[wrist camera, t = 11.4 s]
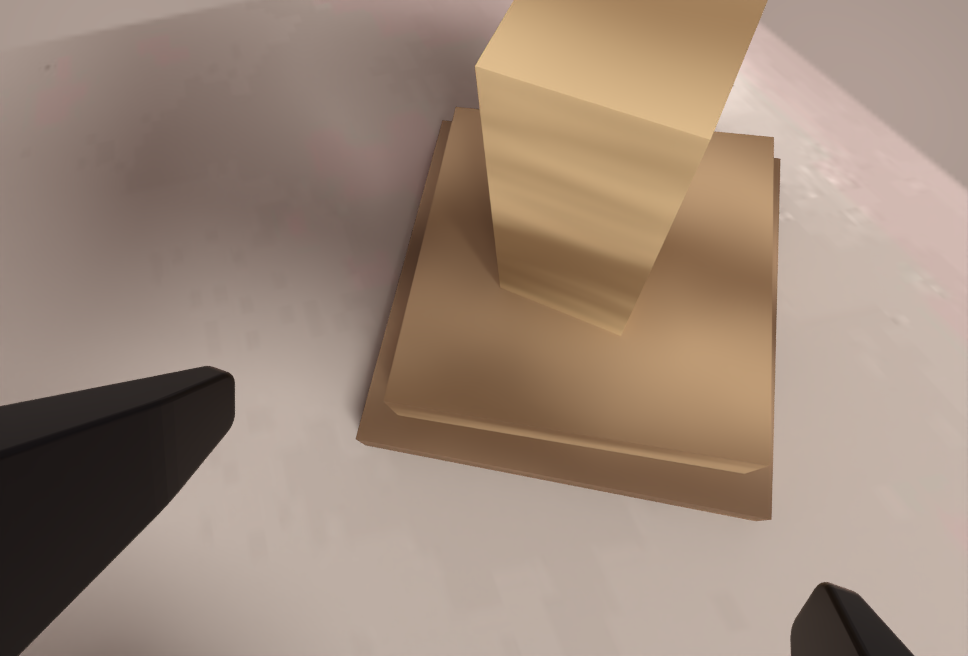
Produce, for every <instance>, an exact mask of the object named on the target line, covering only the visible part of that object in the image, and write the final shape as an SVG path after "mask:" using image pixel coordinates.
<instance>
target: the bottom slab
mask: <svg viewBox="0 0 968 656" xmlns="http://www.w3.org/2000/svg"><path fill="white" fill-rule="evenodd" d="M451 124H452V121H444V120H442V124H441V128H440V131H439V135H438V139H437V142H436V146H435V150H434V153H433V157H432V161H431V164H430V168H429V172H428V175H427V179H426V183H425V186H424V190H423V194H422V197H421V201H420V205H419V208H418V212H417V216H416V219H415V223H414V227H413V230H412V234H411V238H410V241H409V245H408V249H407V252H406V256H405V260H404V263H403V267H402V271H401V274H400V278H399V282H398V285H397V289H396V293H395V297H394V300H393V304H392V308H391V311H390V315H389V319H388V322H387V326H386V330H385V333H384V337H383V341H382V344H381V348H380V352H379V355H378V359H377V363H376V366H375V370H374V374H373V377H372V381H371V385H370V388H369V392H368V396H367V399H366V403H365V407H364V410H363V414H362V418H361V421H360V425H359V429H358V432H357V436H356V440H358V441H360V442H361V443H363V444H365V445H367V446H372V447H377V448H383V449H388V450H393V451H398V452H403V453H408V454H413V455H419V456H424V457H429V458H434V459H439V460H444V461H449V462H455V463H460V464H465V465H470V466H475V467H480V468H485V469H490V470H496V471H501V472H506V473H511V474H516V475H521V476H526V477H532V478H537V479H542V480H547V481H552V482H557V483H562V484H568V485H573V486H578V487H583V488H588V489H593V490H598V491H604V492H609V493H614V494H619V495H624V496H629V497H634V498H639V499H645V500H650V501H655V502H660V503H665V504H670V505H675V506H681V507H686V508H691V509H696V510H701V511H706V512H711V513H717V514H722V515H727V516H732V517H737V518H742V519H747V520H753V521H762V520H771V517H772V476H773V436H774V395H775V354H776V314H777V273H778V232H779V192H780V159H778V158H774V169H773V270H772V372H771V466H768V467H764V468H761V469H758V470H755V471H752V472H749V473H745V474H742V473H737V472H731V471H725V470H719V469H713V468H707V467H701V466H695V465H689V464H683V463H677V462H672V461H666V460H660V459H654V458H648V457H642V456H636V455H630V454H624V453H618V452H612V451H607V450H601V449H595V448H589V447H583V446H577V445H571V444H565V443H559V442H553V441H547V440H542V439H536V438H530V437H524V436H518V435H512V434H506V433H500V432H494V431H488V430H482V429H477V428H471V427H465V426H459V425H453V424H447V423H441V422H435V421H429V420H423V419H418V418H412V417H406V416H400V415H397V414H396V413H395V412H394V411H393V410H392V409H391V408H390V407H389V406H388V405H387V404H386V403H385V402H384V396H385V392H386V388H387V384H388V380H389V376H390V372H391V368H392V364H393V360H394V356H395V352H396V348H397V344H398V340H399V335H400V331H401V327H402V323H403V319H404V315H405V311H406V307H407V303H408V299H409V295H410V291H411V287H412V283H413V279H414V275H415V270H416V266H417V262H418V258H419V254H420V250H421V246H422V242H423V238H424V234H425V230H426V226H427V222H428V218H429V214H430V209H431V205H432V201H433V197H434V193H435V189H436V185H437V181H438V177H439V173H440V169H441V165H442V161H443V157H444V153H445V149H446V144H447V140H448V136H449V132H450V128H451Z"/></svg>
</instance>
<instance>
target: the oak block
mask: <svg viewBox="0 0 968 656" xmlns="http://www.w3.org/2000/svg"><path fill="white" fill-rule="evenodd" d="M766 3H767V0H514V1H513V3H512V4H511V6H510V8H509V9H508V11H507V13H506V14H505V16H504V18H503V20H502V21H501V23H500V25H499V26H498V28H497V30H496V31H495V33H494V35H493V36H492V38H491V40H490V41H489V43H488V45H487V47H486V48H485V50H484V52H483V53H482V55H481V57H480V58H479V60H478V62H477V63H476V65H475V71H476V80H477V89H478V98H479V106H480V115H481V124H482V133H483V141H484V150H485V159H486V168H487V176H488V185H489V194H490V203H491V211H492V220H493V229H494V238H495V246H496V255H497V264H498V273H499V281H500V288H502V289H505V290H507V291H510V292H512V293H515V294H517V295H520V296H522V297H525V298H527V299H530V300H532V301H535V302H537V303H540V304H542V305H545V306H547V307H550V308H552V309H555V310H557V311H560V312H562V313H565V314H567V315H570V316H572V317H575V318H577V319H580V320H582V321H585V322H587V323H590V324H592V325H595V326H597V327H600V328H602V329H605V330H607V331H610V332H612V333H615V334H617V335H620V336H621V335H622V333H623V330H624V328H625V326H626V324H627V322H628V319H629V317H630V315H631V313H632V311H633V309H634V306H635V304H636V302H637V300H638V298H639V295H640V293H641V291H642V289H643V287H644V284H645V282H646V280H647V278H648V276H649V273H650V271H651V269H652V267H653V265H654V263H655V260H656V258H657V256H658V254H659V252H660V249H661V247H662V245H663V243H664V241H665V238H666V236H667V234H668V232H669V230H670V227H671V225H672V223H673V221H674V219H675V216H676V214H677V212H678V210H679V208H680V206H681V203H682V201H683V199H684V197H685V195H686V192H687V190H688V188H689V186H690V184H691V181H692V179H693V177H694V175H695V173H696V170H697V168H698V166H699V164H700V162H701V159H702V157H703V155H704V153H705V151H706V149H707V146H708V144H709V142H710V140H711V137H712V135H713V132H714V130H715V128H716V125H717V123H718V120H719V118H720V115H721V113H722V110H723V108H724V106H725V103H726V101H727V98H728V96H729V93H730V91H731V89H732V86H733V84H734V81H735V79H736V76H737V74H738V71H739V69H740V67H741V64H742V62H743V59H744V57H745V54H746V52H747V50H748V47H749V45H750V42H751V40H752V37H753V35H754V32H755V30H756V28H757V25H758V23H759V20H760V18H761V15H762V13H763V10H764V8H765V6H766Z"/></svg>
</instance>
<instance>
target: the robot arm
mask: <svg viewBox="0 0 968 656" xmlns="http://www.w3.org/2000/svg"><path fill="white" fill-rule="evenodd" d="M234 417H235V381H234V378H233V376H232V375H231V374H230V373H229V372H226V371H223V370H221V369H218V368H215V367H211V366H204V367H199V368H193V369H188V370H183V371H178V372H173V373H168V374H163V375H158V376H153V377H147V378H142V379H137V380H132V381H127V382H122V383H117V384H112V385H107V386H101V387H96V388H91V389H86V390H81V391H76V392H71V393H66V394H61V395H56V396H50V397H45V398H40V399H35V400H30V401H25V402H20V403H15V404H10V405H4V406H0V656H19V655H20V654H21V653H22V652H23V651H24V650H25V649H26V648H27V647H28V646H29V645H30V644H31V643H32V642H33V641H34V640H35V639H36V638H37V636H38V635H39V634H40V633H41V632H42V631H43V630H44V629H45V628H46V627H47V626H48V625H49V624H50V623H51V622H52V621H53V620H54V619H55V618H56V617H57V616H58V615H59V614H60V613H61V612H62V611H63V610H64V609H65V608H66V607H67V606H68V605H69V604H70V603H71V602H72V601H73V600H74V599H75V598H76V597H77V596H78V595H79V594H80V593H81V592H82V591H83V590H84V589H85V588H86V587H87V586H88V585H89V584H90V583H91V582H92V581H93V580H94V579H95V578H96V577H97V576H98V575H99V574H100V573H101V572H102V571H103V570H104V569H105V568H106V567H107V566H108V565H109V564H110V563H111V562H112V561H113V560H114V559H115V558H116V557H117V556H118V555H119V554H120V553H121V552H122V551H123V550H124V549H125V548H126V547H127V546H128V545H129V544H130V543H131V542H132V541H133V540H134V539H135V538H136V537H137V536H138V535H139V534H140V533H141V532H142V531H143V529H144V528H145V527H146V526H147V525H148V524H149V523H150V522H151V521H152V520H153V519H154V518H155V517H156V516H157V515H158V514H159V513H160V512H161V511H162V510H163V509H164V508H165V507H166V506H167V505H168V504H169V502H170V501H171V500H172V499H173V498H174V497H175V496H176V494H177V493H178V492H179V491H180V490H181V489H182V487H183V486H184V485H185V484H186V482H187V481H188V480H189V479H190V477H191V476H192V475H193V474H194V473H195V471H196V470H197V469H198V468H199V466H200V465H201V464H202V463H203V462H204V460H205V459H206V458H207V457H208V455H209V454H210V453H211V452H212V450H213V449H214V448H215V447H216V446H217V444H218V443H219V442H220V441H221V439H222V438H223V437H224V436H225V435H226V433H227V432H228V431H229V429H230V428H231V426H232V424H233V421H234ZM790 642H791V656H914V655H913V654H912V652H911V651H910V650H909V649H908V648H907V647H906V646H905V645H904V644H903V643H902V641H901V640H900V639H899V638H898V637H897V636H896V635H895V634H894V633H893V631H892V630H891V629H890V628H889V627H888V626H887V625H886V624H885V623H884V622H883V620H882V619H881V618H880V617H879V616H878V615H877V614H876V613H875V612H874V610H873V609H872V608H871V607H870V606H869V605H868V604H867V603H866V602H865V601H864V599H863V598H862V597H861V596H860V595H859V594H857V593H856V592H854V591H852V590H849V589H846V588H843V587H840V586H837V585H834V584H832V583H829V582H823V583H820V584H819V585H818V586H817V587H816V588H815V589H814V591H813V592H812V594H811V595H810V597H809V598H808V600H807V602H806V603H805V605H804V606H803V608H802V609H801V611H800V612H799V614H798V615H797V617H796V619H795V620H794V623H793V625H792V629H791V636H790Z"/></svg>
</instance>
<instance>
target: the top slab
mask: <svg viewBox="0 0 968 656" xmlns="http://www.w3.org/2000/svg"><path fill="white" fill-rule="evenodd" d="M773 169H774V137H766V136H755V135H745V134H734V133H724V132H713V135H712V137H711V140H710V142H709V144H708V146H707V149H706V151H705V153H704V155H703V157H702V159H701V162H700V164H699V166H698V168H697V170H696V173H695V175H694V177H693V179H692V181H691V184H690V186H689V188H688V190H687V192H686V195H685V197H684V199H683V201H682V203H681V206H680V208H679V210H678V212H677V214H676V216H675V219H674V221H673V223H672V225H671V227H670V230H669V232H668V234H667V236H666V238H665V241H664V243H663V245H662V247H661V249H660V252H659V254H658V256H657V258H656V260H655V263H654V265H653V267H652V269H651V271H650V273H649V276H648V278H647V280H646V282H645V284H644V287H643V289H642V291H641V293H640V295H639V298H638V300H637V302H636V304H635V306H634V309H633V311H632V313H631V315H630V317H629V319H628V322H627V324H626V326H625V328H624V330H623V333H622V335H621V336H620V335H617V334H615V333H612V332H610V331H607V330H605V329H602V328H600V327H597V326H595V325H592V324H590V323H587V322H585V321H582V320H580V319H577V318H575V317H572V316H570V315H567V314H565V313H562V312H560V311H557V310H555V309H552V308H550V307H547V306H545V305H542V304H540V303H537V302H535V301H532V300H530V299H527V298H525V297H522V296H520V295H517V294H515V293H512V292H510V291H507V290H505V289H502V288H500V281H499V273H498V264H497V255H496V246H495V238H494V229H493V220H492V211H491V203H490V194H489V185H488V176H487V168H486V159H485V150H484V141H483V133H482V124H481V115H480V109H472V108H461V107H456V108H455V112H454V116H453V120H452V124H451V128H450V132H449V136H448V140H447V144H446V149H445V153H444V157H443V161H442V165H441V169H440V173H439V177H438V181H437V185H436V189H435V193H434V197H433V201H432V205H431V209H430V214H429V218H428V222H427V226H426V230H425V234H424V238H423V242H422V246H421V250H420V254H419V258H418V262H417V266H416V270H415V275H414V279H413V283H412V287H411V291H410V295H409V299H408V303H407V307H406V311H405V315H404V319H403V323H402V327H401V331H400V335H399V340H398V344H397V348H396V352H395V356H394V360H393V364H392V368H391V372H390V376H389V380H388V384H387V388H386V392H385V396H384V402H385V403H386V404H387V405H388V406H389V407H390V408H391V409H392V410H393V411H394V412H395V413H396V414H397V415H400V416H406V417H412V418H418V419H423V420H429V421H435V422H441V423H447V424H453V425H459V426H465V427H471V428H477V429H482V430H488V431H494V432H500V433H506V434H512V435H518V436H524V437H530V438H536V439H542V440H547V441H553V442H559V443H565V444H571V445H577V446H583V447H589V448H595V449H601V450H607V451H612V452H618V453H624V454H630V455H636V456H642V457H648V458H654V459H660V460H666V461H672V462H677V463H683V464H689V465H695V466H701V467H707V468H713V469H719V470H725V471H731V472H737V473H742V474H745V473H749V472H752V471H755V470H758V469H761V468H764V467H768V466H771V372H772V270H773Z"/></svg>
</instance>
